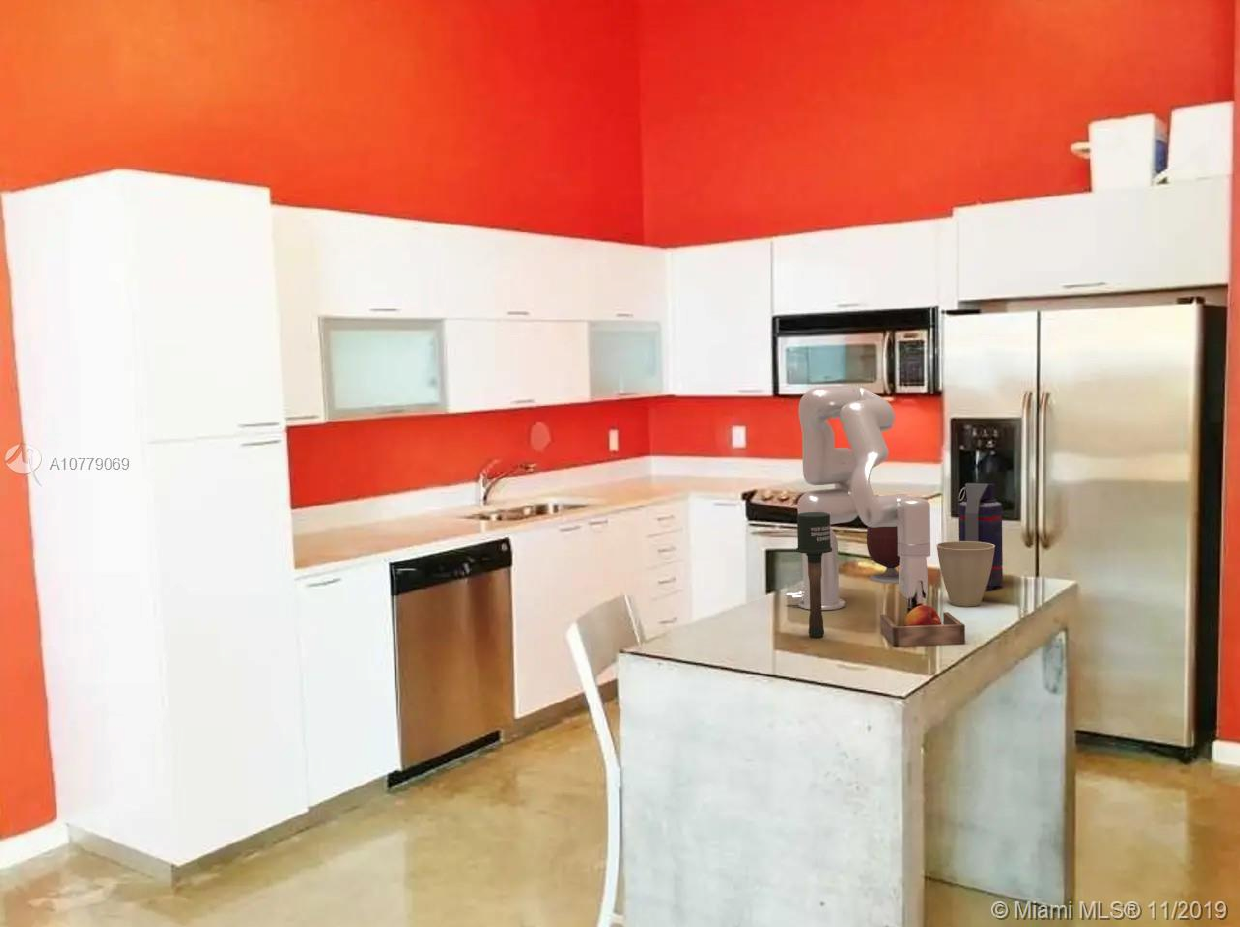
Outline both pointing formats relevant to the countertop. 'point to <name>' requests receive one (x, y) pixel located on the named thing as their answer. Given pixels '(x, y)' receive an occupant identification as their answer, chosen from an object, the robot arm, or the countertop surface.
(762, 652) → the countertop surface
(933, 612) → the fruit
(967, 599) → the plant pot
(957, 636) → the box
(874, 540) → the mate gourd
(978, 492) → the smoke canister
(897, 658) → the countertop surface
